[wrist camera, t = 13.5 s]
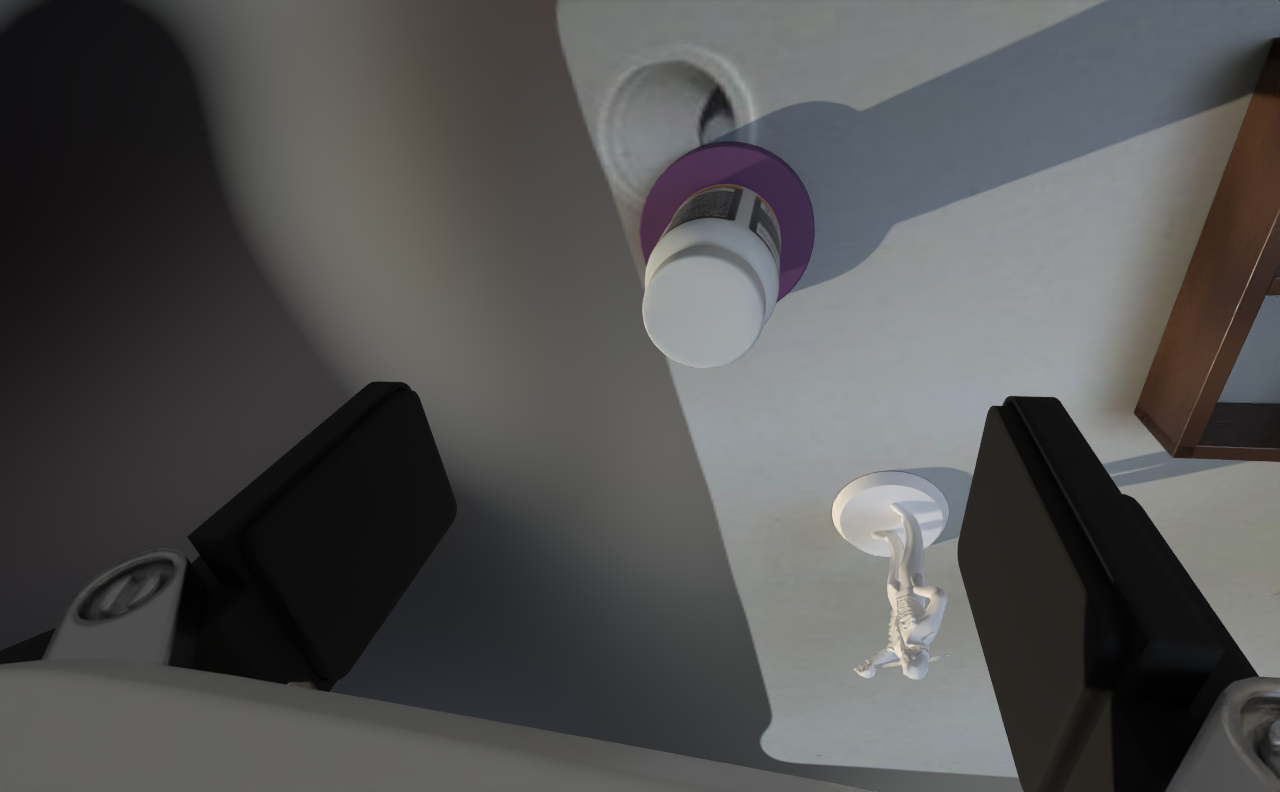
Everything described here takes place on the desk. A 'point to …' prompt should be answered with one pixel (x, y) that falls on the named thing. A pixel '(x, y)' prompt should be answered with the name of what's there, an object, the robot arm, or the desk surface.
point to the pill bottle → (713, 277)
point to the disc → (740, 169)
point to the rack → (1224, 302)
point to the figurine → (898, 558)
